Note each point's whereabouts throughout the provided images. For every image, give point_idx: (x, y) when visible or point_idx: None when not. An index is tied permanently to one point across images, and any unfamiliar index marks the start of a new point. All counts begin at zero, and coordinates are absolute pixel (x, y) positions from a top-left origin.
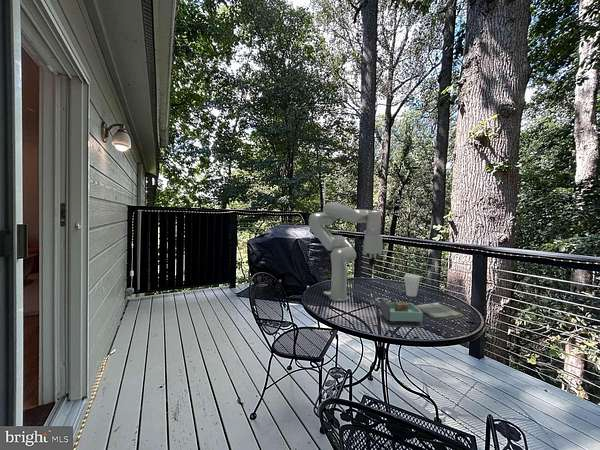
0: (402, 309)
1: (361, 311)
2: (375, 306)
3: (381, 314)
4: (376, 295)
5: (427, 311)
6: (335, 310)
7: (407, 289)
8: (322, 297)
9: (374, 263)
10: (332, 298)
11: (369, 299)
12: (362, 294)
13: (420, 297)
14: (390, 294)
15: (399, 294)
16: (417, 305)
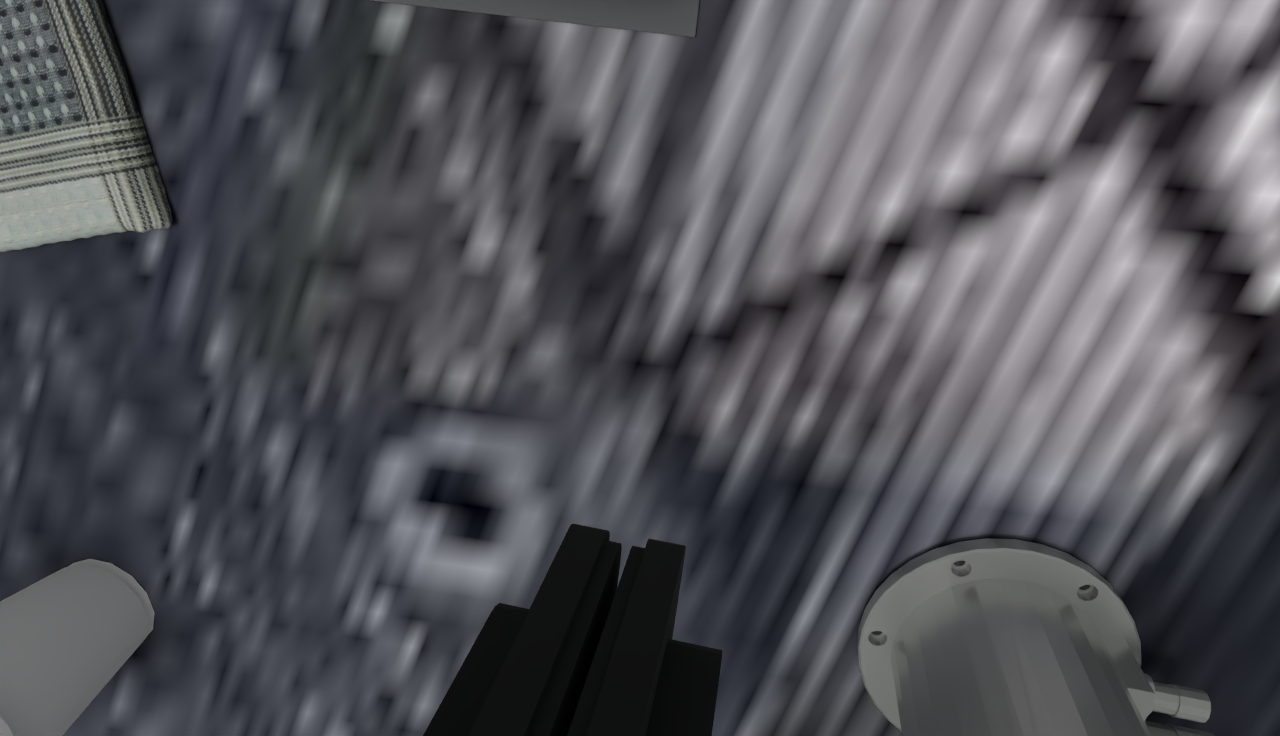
0: None
1: (896, 160)
2: (627, 321)
3: (669, 8)
4: None
5: (63, 6)
6: (1275, 229)
7: (99, 639)
8: None
9: (510, 611)
10: (1123, 606)
11: None
12: None
13: (36, 525)
14: (315, 654)
15: (222, 638)
16: (126, 217)
